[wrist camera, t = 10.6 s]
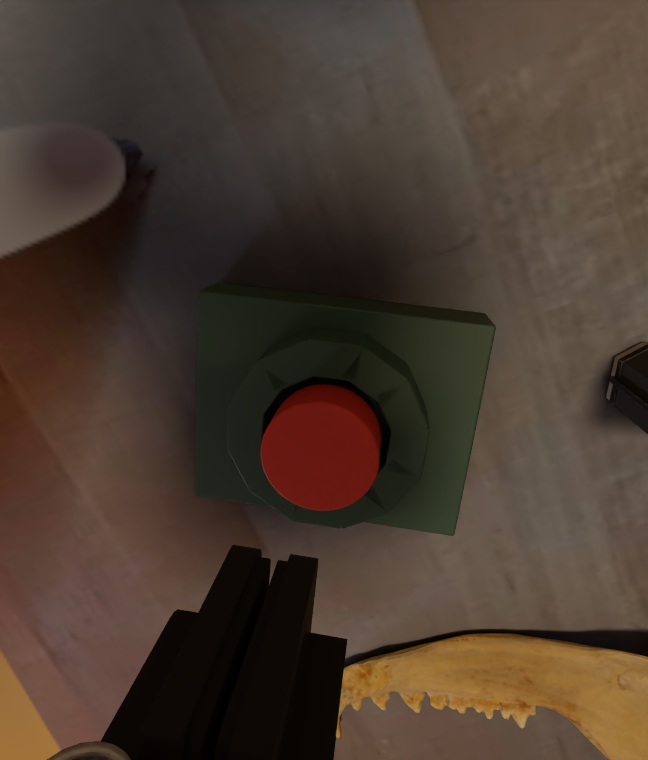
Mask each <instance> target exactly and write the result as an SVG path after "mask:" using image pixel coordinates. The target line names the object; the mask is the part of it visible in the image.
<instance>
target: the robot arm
mask: <svg viewBox="0 0 648 760" xmlns="http://www.w3.org/2000/svg"><path fill="white" fill-rule="evenodd" d="M270 563H271V561H270V559H269V558H263V557H262V552H261V549H256V548H250V547H244V546H238V545H233V546H232V547H231V548H230V550H229V552H228V554H227V556H226V558H225V560H224V562H223V564H222V566H221V568H220V570H219V572H218V574H217V576H216V578H215V580H214V582H213V584H212V586H211V588H210V590H209V592H208V594H207V596H206V599H205V601H204V603H203V605H202V607H201V609H200V611H199V613H196V612H190V611H184V610H179V609H178V610H176V611H175V612H174V613H173V614H172V616H171V617H170V619H169V621H168V622H167V624H166V626H165V628H164V630H163V631H162V633H161V635H160V637H159V638H158V640H157V642H156V644H155V646H154V647H153V649H152V651H151V653H150V654H149V656H148V658H147V660H146V662H145V663H144V665H143V667H142V669H141V670H140V672H139V674H138V676H137V678H136V679H135V681H134V683H133V685H132V686H131V688H130V690H129V692H128V694H127V695H126V697H125V699H124V701H123V702H122V704H121V706H120V708H119V710H118V711H117V713H116V715H115V717H114V718H113V720H112V722H111V724H110V726H109V727H108V729H107V731H106V733H105V734H104V736H103V738H102V740H101V742H99V741H95V742H85V743H79V744H77V745H74V746H71V747H68V748H66V749H63V750H61V751H60V752H58V753H57V754H55V755H53V756H52V757H50V758H49V759H47V760H333V758H334V750H335V741H336V732H337V724H338V715H339V706H340V698H341V689H342V680H343V672H344V663H345V654H346V645H347V639H343V638H338V637H332V636H326V635H321V634H315V633H310V632H311V623H312V614H313V605H314V596H315V587H316V578H317V569H318V559H317V558H311V557H305V556H299V555H293V554H291V555H290V556H289V559H288V562H287V561H281V560H278V562H277V564H276V567H275V570H274V573H273V576H272V579H271V582H270V585H269V577H270Z"/></svg>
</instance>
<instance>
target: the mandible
mask: <svg viewBox="0 0 648 760" xmlns="http://www.w3.org/2000/svg"><path fill="white" fill-rule="evenodd" d="M393 691H396V692H399V694H400V695H401V697H402V698H403V700H404V701H405V703H406V704H407V705H408V706H409V707H411V708H412V709H413V710H414V711H415V712H417V713H419V712H420V710H421V701H422V700H423V699H424V696H425V694H424V692H427V693H428V695H429V697H430V703H431V705H432V707H435V708H436V709H439V710H442V709H443V708H444V706H446V705H449V707H450V708H452V709H453V710H455V709H457V710H458V711H459V712H460V713H462V714H464V713H465V711H466V707H473V708H475V709H476V711H477V712H478V713H480V712H481V711H483V712H484V713H485V715H486V717H487V718H488V719H490V720H491V718H492V716H493V712H494V709H496V710H501V714H502V716H503V717H504V718H505V719H508V718H509V717H510V715H512V717H513V719H514V720H515V721H516V723H517V724H518V725H519V726H520V727H521V728H524V727H525V724H526V719H527V717H528V716H529V715H535V714H536V713H535V709H536V706H537V707H546V708H549V709H551V710H553V711H555V712H557V713H559V714H561V715H563V716H565V717H566V718H568V719H569V720H570V721H571V722H572V723H573V724H574V725H575V726H576V727H577V728H578V729H579V730H580V731H581V732H582V733H583V734H584V735H585V736H586V737H587V738H588V739H589V740H590V741H591V742H592V743H593V744H594V745H595V746H596V747H597V748H598V749H599V750H600V751H601V752H602V753H603V754H604V755H605V756H606V757H607V758H608V759H609V760H648V657H647V656H642V655H638V654H633V653H629V652H624V651H620V650H615V649H608V648H600V647H594V646H587V645H583V644H578V643H573V642H567V641H561V640H553V639H545V638H538V637H532V636H524V635H518V634H509V633H484V634H467V635H461V636H456V637H452V638H448V639H443V640H439V641H434V642H430V643H426V644H422V645H418V646H414V647H410V648H407V649H403V650H399V651H396V652H392V653H388V654H383V655H379V656H375V657H371V658H368V659H365V660H362V661H359V662H357V663H354V664H352V665H349V666H347V667H345V668H344V672H343V680H342V689H341V698H340V706H339V715H338V724H337V732H336V737H337V738H339V739H341V733H342V731H341V726H340V719H339V718H340V715H341V713H342V711H343V710H344V708H345V707H346V706H347V705H348V704H352V706H353V708H354V709H355V710H356V711H359V710H360V708H361V706H362V704H363V698H365V697H371V698H372V700H373V701H374V703H375V704H376V705H378V706H379V707H380V708H381V709H382V710H385V711H386V705H387V701H388V700H389V699H390V692H393Z"/></svg>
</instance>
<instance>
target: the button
mask: <svg viewBox="0 0 648 760" xmlns="http://www.w3.org/2000/svg"><path fill="white" fill-rule="evenodd" d="M380 445H381V430H380V426H379V422H378V420H377V417H376V415H375V413H374V411H373V410H372V409H371V407H370V406H369V405H368V404H367V402H366V401H365V400H364V399H362V398H361V397H360V396H359V395H357V394H356V393H354V392H353V391H350V390H348V389H346V388H343V387H340V386H336V385H331V384H316V385H311V386H307V387H304V388H302V389H300V390H297V391H296V392H294V393H293V394H291V395H290V396H289V397H288V398H286V399H285V401H284V402H283V403H282V404H281V405H280V407H279V409H278V410H277V412H276V414H275V415H274V417H273V419H272V420H271V422H270V424H269V425H268V427H267V429H266V431H265V433H264V435H263V439H262V442H261V462H262V466H263V470H264V472H265V474H266V477H267V478H268V480H269V482H270V483H271V485H272V486H273V487H274V489H275V490H276V491H277V492H278V493H279V494H280V495H282V496H283V497H284V498H285V499H287V500H289V501H290V502H292V503H294V504H296V505H298V506H301V507H304V508H307V509H311V510H319V511H329V510H336V509H340V508H343V507H346V506H348V505H350V504H352V503H354V502H356V501H357V500H359V499H360V498H361V497H362V496H363V495H364V494H366V493H367V491H368V490H369V489H370V487H371V486H372V484H373V483H374V481H375V479H376V476H377V473H378V469H379V459H380Z"/></svg>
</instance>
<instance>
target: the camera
mask: <svg viewBox="0 0 648 760" xmlns="http://www.w3.org/2000/svg"><path fill="white" fill-rule="evenodd" d="M606 398H607V399H608V400H609V402H610V403H611V404H612V405H613V406H615V407H616V408H618V409H619V410H620V411H622V412H623V413H624V414H625V415H626V416H628V417H629V418H630V419H631V420H632V421H633V422H634V423H635V424H637V425H638V426H639V427H640V428H641V429H642V430H643V431H644V432H646V433H647V434H648V343H647V342H642V343H640V344H638V345H636V346H634V347H633V348H631V349H629V350H627V351H625V352H623V353H621V354H619V355H617V356H615V358H614V363H613V368H612V372H611V376H610V379H609V386H608V391H607V396H606Z"/></svg>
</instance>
